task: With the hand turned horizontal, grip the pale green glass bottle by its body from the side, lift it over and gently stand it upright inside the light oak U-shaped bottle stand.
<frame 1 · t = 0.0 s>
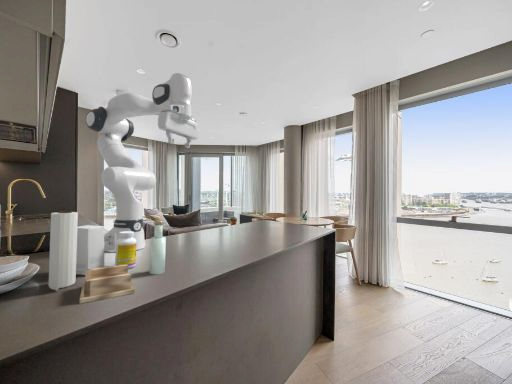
hand: (179, 145, 98), 48 cm above the worktop, tool pointing down, fingers open, 8 cm apart
supplement bottle: (125, 267, 85), on the worktop
bottle stand: (107, 289, 65), on the worktop
skincare box: (86, 272, 78), on the worktop
paper towel roll: (60, 286, 67), on the worktop
glass bottle: (157, 272, 80), on the worktop
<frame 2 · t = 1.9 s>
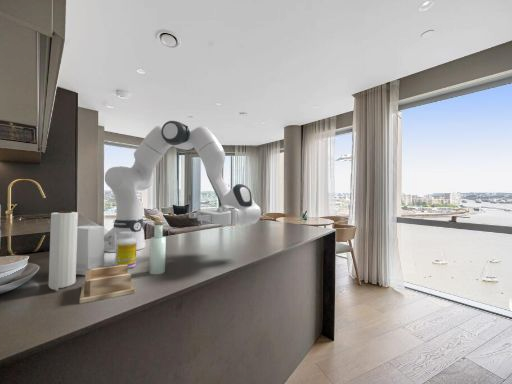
hand: (193, 217, 87), 19 cm above the worktop, tool horizontal, fingers open, 8 cm apart
nothing on the worktop moved.
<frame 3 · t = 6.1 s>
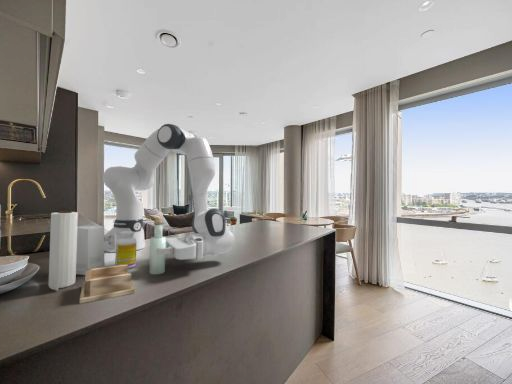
hand: (155, 249, 80), 8 cm above the worktop, tool horizontal, fingers closed on glass bottle, 5 cm apart
glass bottle: (157, 271, 80), on the worktop, touching gripper
everything else where it was.
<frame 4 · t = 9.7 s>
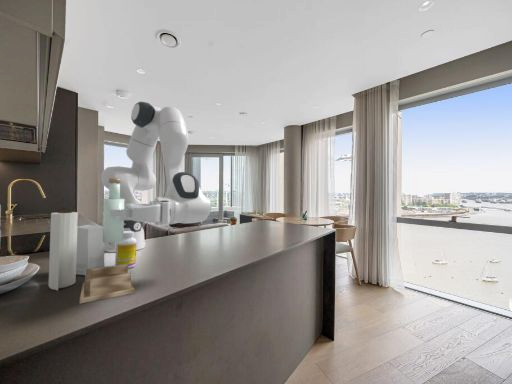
hand: (110, 211, 65), 22 cm above the worktop, tool horizontal, fingers closed on glass bottle, 5 cm apart
glass bottle: (113, 240, 66), point 14 cm above the worktop, touching gripper
everything else where it was.
when the fingers open (10 cm above the worktop, at t = 13.5 s): glass bottle stays where it is, resting on bottle stand.
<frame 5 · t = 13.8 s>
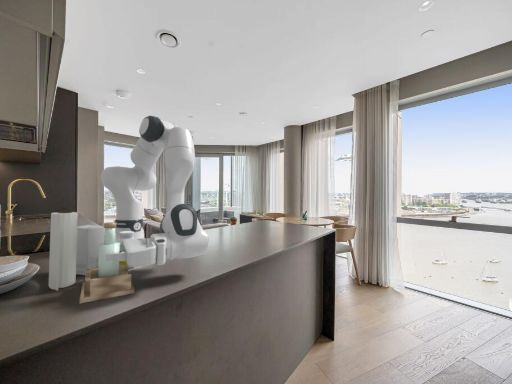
hand: (105, 253, 65), 10 cm above the worktop, tool horizontal, fingers open, 8 cm apart
glass bottle: (108, 286, 65), point 1 cm above the worktop, touching bottle stand
everything else where it was.
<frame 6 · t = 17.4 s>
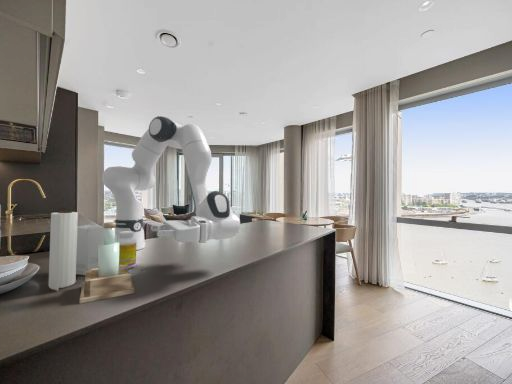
hand: (154, 230, 72), 16 cm above the worktop, tool horizontal, fingers open, 8 cm apart
nothing on the worktop moved.
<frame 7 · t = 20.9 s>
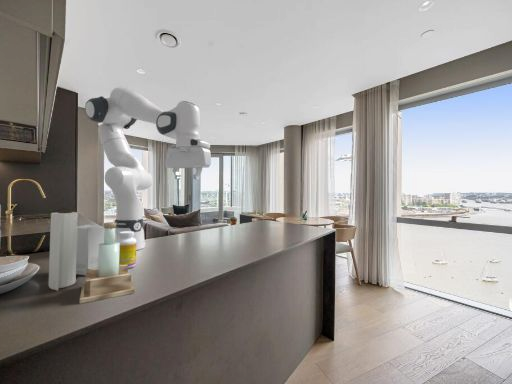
hand: (186, 179, 90), 33 cm above the worktop, tool pointing down, fingers open, 8 cm apart
nothing on the worktop moved.
at the end: glass bottle 0.1 cm off-centre on the bottle stand, point 1.0 cm above the bottle stand's base; glass bottle tilted 1°; the gripper is holding nothing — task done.
